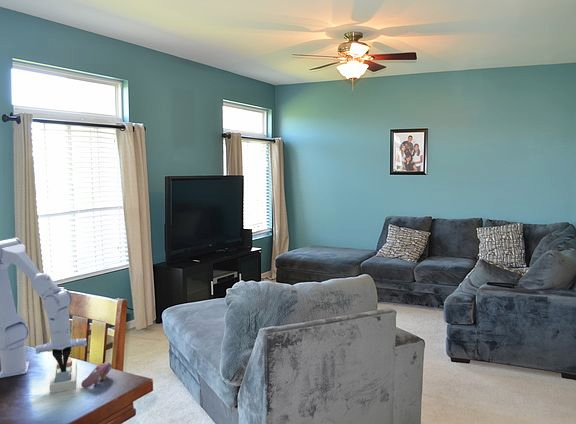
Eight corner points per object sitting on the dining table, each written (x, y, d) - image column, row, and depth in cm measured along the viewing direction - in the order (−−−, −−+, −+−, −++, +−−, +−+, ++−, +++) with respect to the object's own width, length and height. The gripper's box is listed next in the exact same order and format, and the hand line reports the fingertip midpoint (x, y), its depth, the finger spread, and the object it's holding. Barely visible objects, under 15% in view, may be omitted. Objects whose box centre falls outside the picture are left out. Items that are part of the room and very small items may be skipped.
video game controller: (91, 394, 149) (99, 375, 148) (78, 387, 150) (86, 368, 148) (109, 379, 159) (117, 361, 157) (97, 372, 159) (105, 354, 158)
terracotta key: (58, 365, 163) (57, 359, 162) (71, 363, 164) (70, 357, 164) (57, 370, 159) (56, 364, 159) (71, 368, 160) (70, 362, 160)
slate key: (56, 379, 153) (55, 373, 152) (70, 376, 154) (69, 370, 154) (55, 384, 149) (55, 378, 149) (70, 382, 150) (69, 375, 150)
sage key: (57, 375, 158) (57, 369, 157) (71, 372, 159) (70, 367, 159) (56, 380, 154) (56, 374, 154) (70, 377, 156) (70, 371, 155)
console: (53, 369, 164) (53, 362, 163) (76, 365, 166) (76, 358, 166) (50, 393, 147) (49, 385, 147) (75, 388, 150) (75, 380, 149)
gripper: (33, 337, 148) (37, 380, 150) (85, 329, 154) (88, 371, 155) (35, 330, 155) (39, 371, 156) (85, 322, 160) (88, 362, 162)
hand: (63, 370), depth 156 cm, fingers closed, pressing on sage key
